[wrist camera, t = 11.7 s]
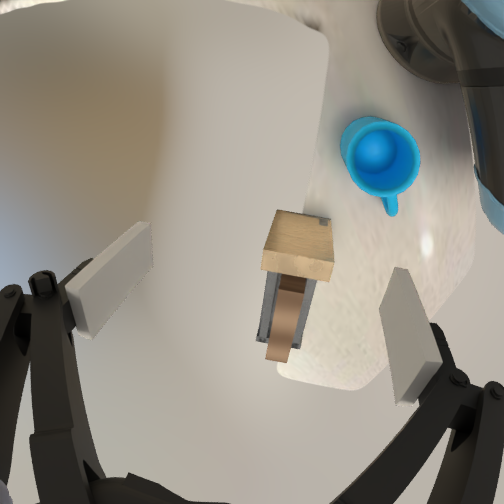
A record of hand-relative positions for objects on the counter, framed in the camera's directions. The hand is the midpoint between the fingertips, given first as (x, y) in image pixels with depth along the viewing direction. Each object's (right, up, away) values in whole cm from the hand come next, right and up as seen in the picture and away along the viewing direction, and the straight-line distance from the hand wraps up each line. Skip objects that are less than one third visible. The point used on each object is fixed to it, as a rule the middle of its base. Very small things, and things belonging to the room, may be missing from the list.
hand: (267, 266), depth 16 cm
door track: (+5, -4, +32) cm, 32 cm away
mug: (+15, +12, +21) cm, 29 cm away
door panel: (+5, -4, +31) cm, 32 cm away
